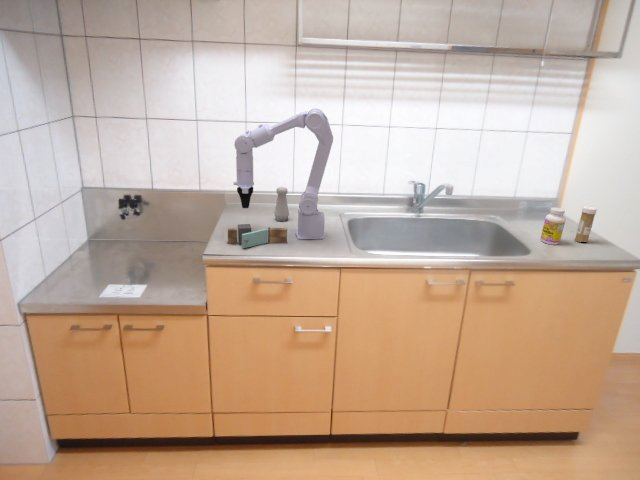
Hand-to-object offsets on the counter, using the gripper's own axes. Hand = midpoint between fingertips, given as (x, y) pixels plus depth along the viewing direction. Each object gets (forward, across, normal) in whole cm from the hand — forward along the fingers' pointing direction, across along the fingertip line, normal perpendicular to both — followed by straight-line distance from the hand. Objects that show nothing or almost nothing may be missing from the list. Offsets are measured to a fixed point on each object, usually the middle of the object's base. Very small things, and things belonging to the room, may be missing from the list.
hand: (245, 207), depth 160 cm
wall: (+9, +10, +4) cm, 14 cm away
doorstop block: (+10, +10, 0) cm, 14 cm away
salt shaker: (+10, -14, +14) cm, 22 cm away
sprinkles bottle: (+10, +14, +125) cm, 126 cm away
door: (+9, +13, +3) cm, 16 cm away
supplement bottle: (+10, +14, +112) cm, 113 cm away
